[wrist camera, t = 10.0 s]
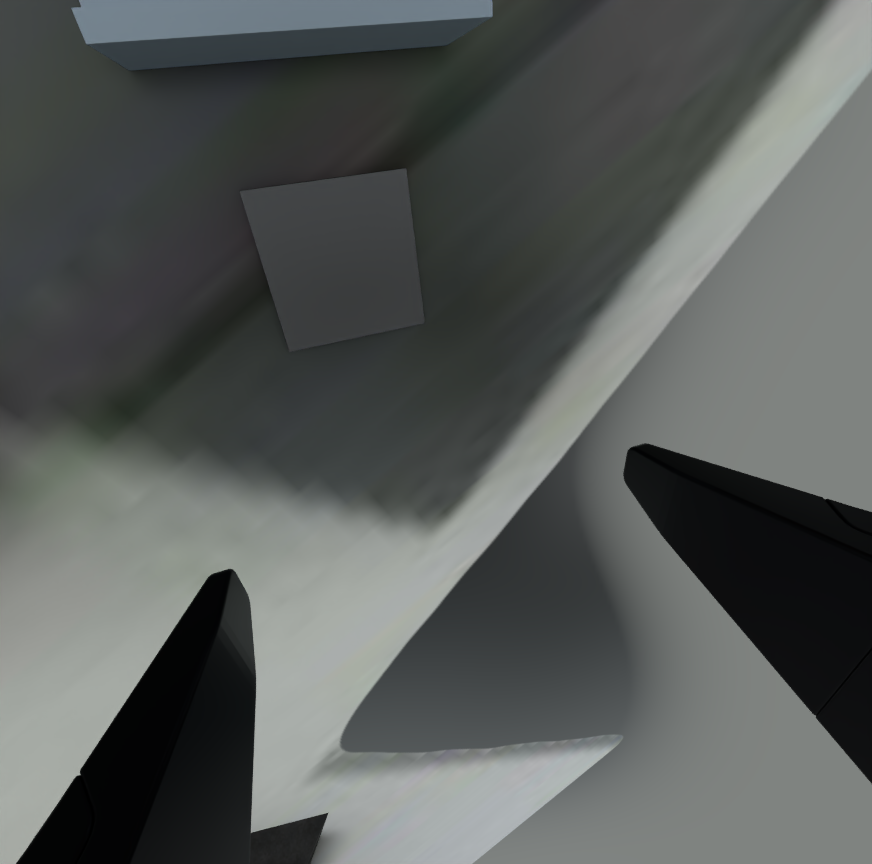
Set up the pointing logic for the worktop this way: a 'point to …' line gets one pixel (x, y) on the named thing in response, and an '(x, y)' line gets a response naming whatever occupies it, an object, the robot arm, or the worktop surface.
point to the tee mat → (338, 256)
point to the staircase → (267, 28)
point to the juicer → (287, 842)
